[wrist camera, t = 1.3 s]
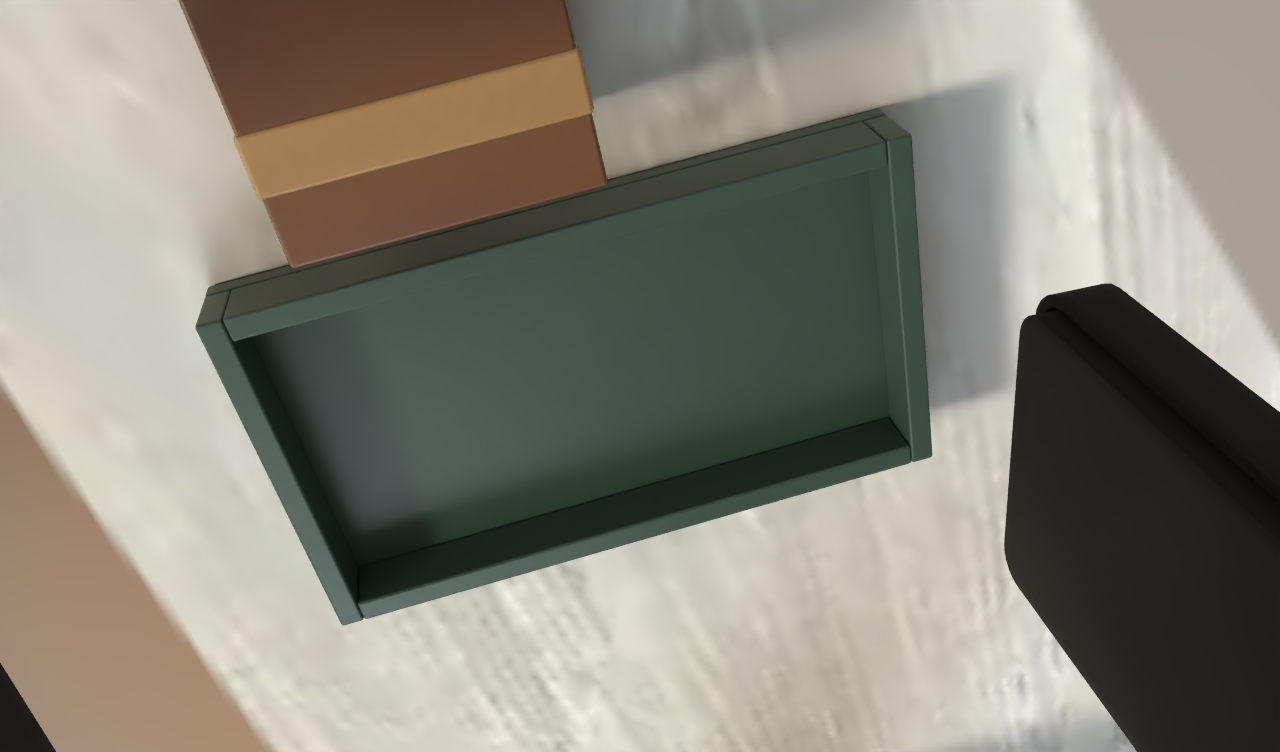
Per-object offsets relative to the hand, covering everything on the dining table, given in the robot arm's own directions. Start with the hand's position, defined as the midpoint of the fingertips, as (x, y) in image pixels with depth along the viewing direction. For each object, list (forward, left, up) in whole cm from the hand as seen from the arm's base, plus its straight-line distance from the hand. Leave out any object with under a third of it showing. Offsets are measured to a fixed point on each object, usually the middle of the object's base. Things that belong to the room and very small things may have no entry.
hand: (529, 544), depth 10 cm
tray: (-1, +8, -16) cm, 18 cm away
